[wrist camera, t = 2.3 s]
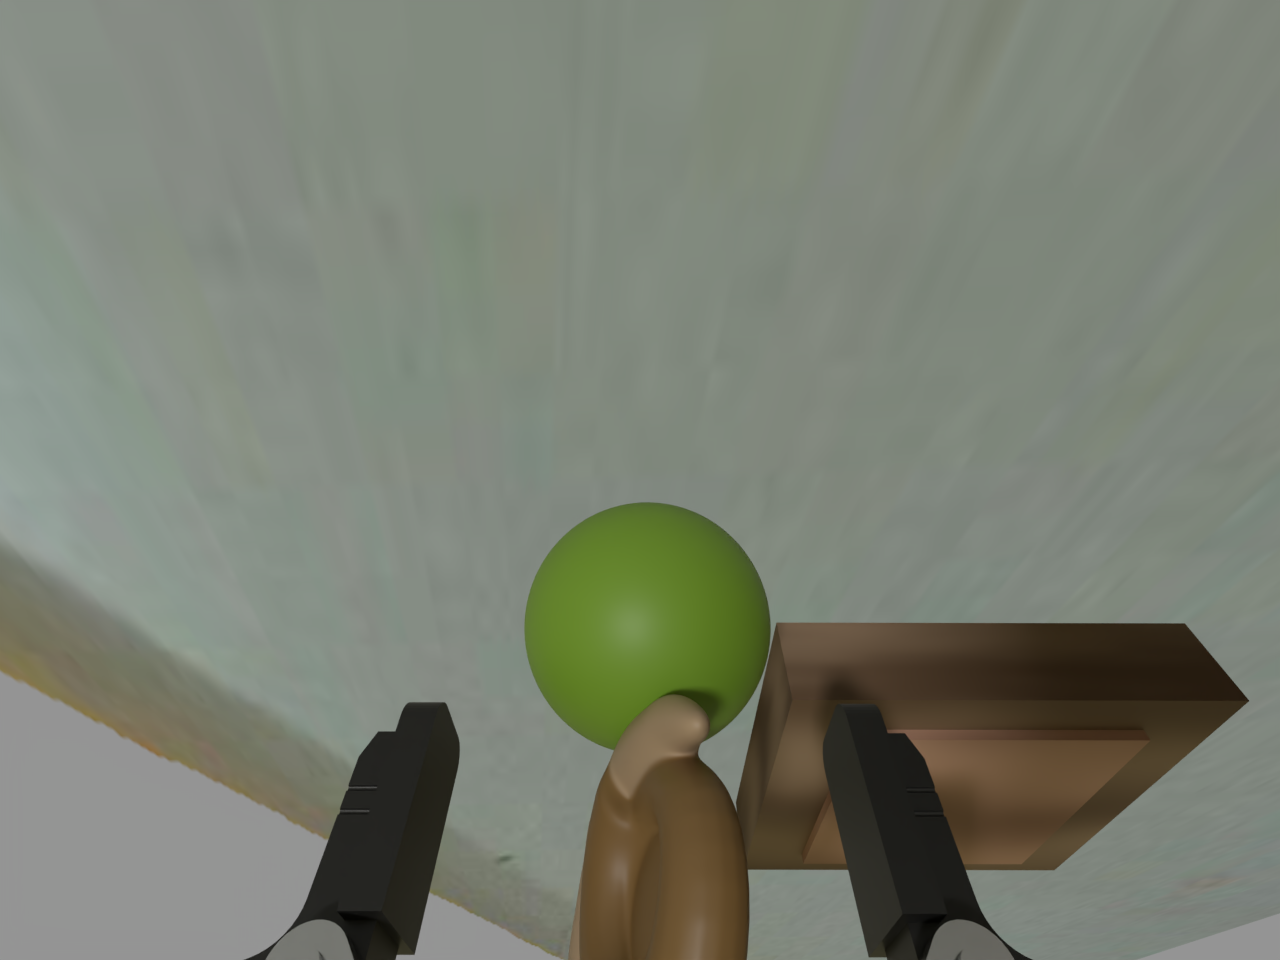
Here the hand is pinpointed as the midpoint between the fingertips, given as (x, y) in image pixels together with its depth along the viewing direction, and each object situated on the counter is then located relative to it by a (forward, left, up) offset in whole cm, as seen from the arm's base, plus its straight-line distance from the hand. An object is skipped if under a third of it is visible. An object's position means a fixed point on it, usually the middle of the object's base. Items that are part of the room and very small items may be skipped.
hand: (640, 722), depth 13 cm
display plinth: (+9, +10, -5) cm, 14 cm away
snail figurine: (0, 0, -5) cm, 5 cm away
